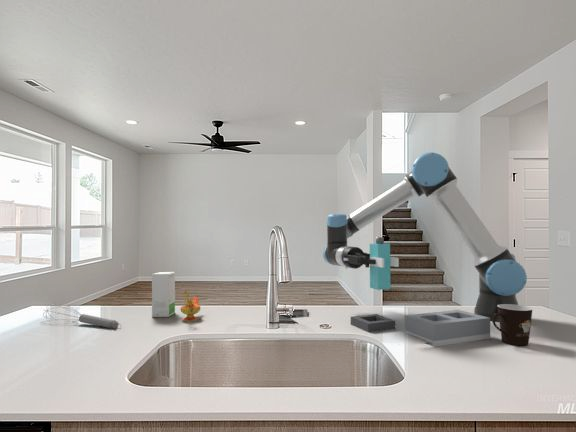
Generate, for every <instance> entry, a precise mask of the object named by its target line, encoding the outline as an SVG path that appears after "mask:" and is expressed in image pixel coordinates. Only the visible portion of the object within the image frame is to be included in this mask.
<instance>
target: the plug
mask: <svg viewBox="0 0 576 432" xmlns="http://www.w3.org/2000/svg"><path fill="white" fill-rule="evenodd" d="M384 238H385V237H381V236H380V237H379V236H378V237H377V236H376V237H375V243H369V254H370V257H377V258H384V267H383V268H382V267H376V266H370V265H369V288H370V289H374V290H376V291H377V290H378V291H380V290H391V266H390V256H391V243H385V242H384Z"/></svg>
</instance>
